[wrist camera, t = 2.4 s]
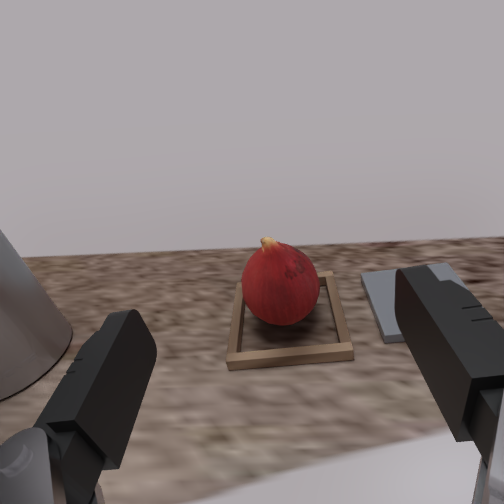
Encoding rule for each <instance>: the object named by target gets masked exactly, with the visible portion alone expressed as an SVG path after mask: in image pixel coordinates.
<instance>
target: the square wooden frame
mask: <svg viewBox="0 0 504 504" xmlns="http://www.w3.org/2000/svg"><path fill="white" fill-rule="evenodd" d="M317 275H318V278H319V282H320V286H323V285H326V286H327V291H328V295H329V300H330V304H331V309H332V313H333V317H334V322H335V326H336V331H337V335H338V340H339V343H334V344H324V345H313V346H302V347H292V348H281V349H271V350H260V351H249V352H240V349H241V339H242V329H243V320H244V310H245V301H244V299H243V294H242V283H241V282H240V283H237V286H236V293H235V300H234V307H233V314H232V321H231V328H230V335H229V342H228V349H227V356H226V364H227V367H228V369H229V370H241V369H253V368H264V367H276V366H288V365H299V364H311V363H323V362H334V361H346V360H354V354H353V347H352V343H351V340H350V336H349V332H348V328H347V325H346V321H345V317H344V313H343V310H342V306H341V302H340V298H339V295H338V291H337V287H336V283H335V280H334V276H333V272H332V271H325V272H317Z"/></svg>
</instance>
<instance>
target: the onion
mask: <svg viewBox="0 0 504 504" xmlns="http://www.w3.org/2000/svg"><path fill="white" fill-rule="evenodd" d="M261 243H262V247H261V248H260V249H258V250H257V251H256V252H255V253H254V254H253V255H252V256H251V257H250V259H249V260H248V262H247V265H246V267H245V269H244V272H243V274H242V279H241V283H242V294H243V299H244V301H245V303H246V305H247V306H248V308H249V309H250V310H251V312H252V313H253V314H254V315H255V316H257V317H258V318H260V319H262V320H264V321H265V322H267V323H269V324H275V325H281V326H284V325H292V324H294V323H296V322H299V321H300V320H302V319H304V318H305V317H306V316H307V315H308V314H309V313H310V312H311V311H312V309H313V308H314V306H315V304H316V302H317V299H318V295H319V291H320V282H319V278H318V275H317V273H316V270H315V268H314V265H313V264H312V262H311V260H310V259H309V258H308V257H307V256H306V255H305V254H304V253H303V252H301V251H300V250H298V249H296V248H294V247H292V246H290V245H287V244H283V243H280V242H277V241H275V240H274V239H273V238H271V237H264V238H262V239H261Z"/></svg>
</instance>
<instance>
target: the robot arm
mask: <svg viewBox="0 0 504 504" xmlns="http://www.w3.org/2000/svg"><path fill="white" fill-rule="evenodd" d="M394 310H395V317H396V321H397V324H398V327H399V330H400V332H401V334H402V336H403V338H404V339H405V341H406V343H407V345H408V347H409V349H410V351H411V353H412V355H413V357H414V359H415V361H416V363H417V365H418V367H419V369H420V371H421V373H422V375H423V377H424V379H425V381H426V383H427V385H428V387H429V389H430V391H431V393H432V395H433V397H434V399H435V401H436V403H437V405H438V407H439V409H440V411H441V413H442V415H443V416H444V418H445V420H446V422H447V424H448V426H449V428H450V430H451V432H452V434H453V436H454V438H455V440H456V442H462V441H463V442H464V441H474V443H475V445H476V446H477V448H478V450H479V452H480V454H481V459H480V464H479V469H478V474H477V480H476V485H475V490H474V495H473V500H472V504H504V329H503V328H502V327H501V326H500V325H499V324H498V323H497V321H496V320H495V321H494V320H493V317H492V316H491V315H490V314H489V312H488V311H487V310H486V309H485V308H482V305H481V303H480V302H479V301H478V300H477V299H476V298H475V297H474V295H473V294H472V293H471V292H470V291H469V290H467V289H466V288H464V287H462V286H461V285H459V284H457V283H455V282H454V281H452V280H444V281H439V279H438V278H437V277H436V275H435V274H434V273H433V272H432V270H431V269H430V268H429V267H428V266H427V265H420V266H413V267H407V268H400V269H397V270H396V274H395V303H394ZM71 337H72V329H71V326H70V324H69V323H68V321H67V320H66V319H65V317H64V316H63V315H62V313H61V312H60V310H59V309H58V308H57V306H56V305H55V304H54V302H53V301H52V300H51V298H50V297H49V295H48V294H47V292H46V291H45V290H44V288H43V287H42V286H41V284H40V283H39V281H38V280H37V279H36V277H35V276H34V275H33V273H32V272H31V271H30V269H29V268H28V266H27V265H26V264H25V262H24V261H23V260H22V258H21V257H20V256H19V254H18V253H17V252H16V250H15V249H14V248H13V246H12V245H11V243H10V242H9V241H8V239H7V238H6V237H5V235H4V234H3V233H2V231H1V230H0V400H1V399H3V398H6V397H9V396H11V395H12V394H14V393H16V392H18V391H20V390H22V389H23V388H25V387H26V386H28V385H30V384H31V383H33V382H34V381H35V380H37V379H38V378H39V377H40V376H42V375H43V374H44V373H45V372H47V371H48V370H49V369H50V368H51V367H52V366H53V365H54V364H55V363H56V362H57V360H58V359H59V358H60V357H61V355H62V354H63V353H64V351H65V350H66V348H67V346H68V345H69V342H70V339H71ZM156 357H157V348H156V344H155V341H154V339H153V337H152V335H151V333H150V332H149V330H148V328H147V326H146V324H145V322H144V321H143V319H142V317H141V315H140V313H139V312H138V311H137V310H135V309H132V310H126V311H120V312H113V313H110V314H109V315H108V316H107V318H106V320H105V321H104V323H103V325H102V327H101V328H100V330H99V331H96V332H95V333H94V334H93V335H92V336H91V337H90V338H89V339H88V340H87V341H86V342H85V343H84V344H83V345H82V347H81V349H80V350H79V352H78V354H77V355H76V357H75V359H74V362H73V363H72V364H71V365H70V367H69V368H68V370H67V372H66V373H67V374H66V375H64V377H63V378H62V380H61V382H60V383H59V385H58V387H57V388H56V390H55V391H54V393H53V395H52V396H51V398H50V400H49V401H48V403H47V405H46V406H45V408H44V410H43V411H42V413H41V414H40V416H39V418H38V419H37V421H36V423H35V424H34V426H33V427H32V428H28V429H25V430H23V431H20V432H18V433H17V434H15V435H13V436H12V437H10V438H9V439H8V440H6V441H5V442H4V443H3V444H2V445H1V446H0V504H105V501H104V497H103V493H102V489H101V486H100V485H99V483H98V479H99V476H100V474H101V471H102V470H112V469H119V468H120V465H121V462H122V459H123V456H124V453H125V450H126V447H127V444H128V441H129V438H130V435H131V432H132V429H133V426H134V423H135V420H136V418H137V415H138V412H139V409H140V406H141V403H142V400H143V397H144V394H145V391H146V388H147V385H148V382H149V379H150V376H151V373H152V370H153V367H154V365H155V362H156Z"/></svg>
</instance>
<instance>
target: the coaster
mask: <svg viewBox="0 0 504 504" xmlns="http://www.w3.org/2000/svg"><path fill="white" fill-rule="evenodd" d="M427 266H428V267H429V268H430V269H431V270H432V272H433V273H434V274H435V275H436V277H437V278H438V279H439V281H444V280H452V281H454V282H455V283H457V284H459V285H461V286H462V287H464V288H466V289H467V290H469V289H468V288H467V287H466V286H465V284H464V283H463V282H462V281H461V279H460V278H459V277H458V276H457V274H456V273H455V272H454V271H453V269H452V268H451V267H450V266H449V264H448V263H439V264H431V265H427ZM396 270H397V269H392V270H384V271H376V272H368V273H361V282H362V285H363V287H364V290H365V293H366V295H367V298H368V301H369V303H370V306H371V308H372V311H373V314H374V316H375V319H376V322H377V324H378V327H379V330H380V332H381V335H382V338H383V340H384V343H393V342H404V341H405V339H404V338H403V336H402V334H401V332H400V330H399V327H398V324H397V321H396V317H395V310H394V303H395V274H396ZM482 308H483V307H482Z"/></svg>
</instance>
